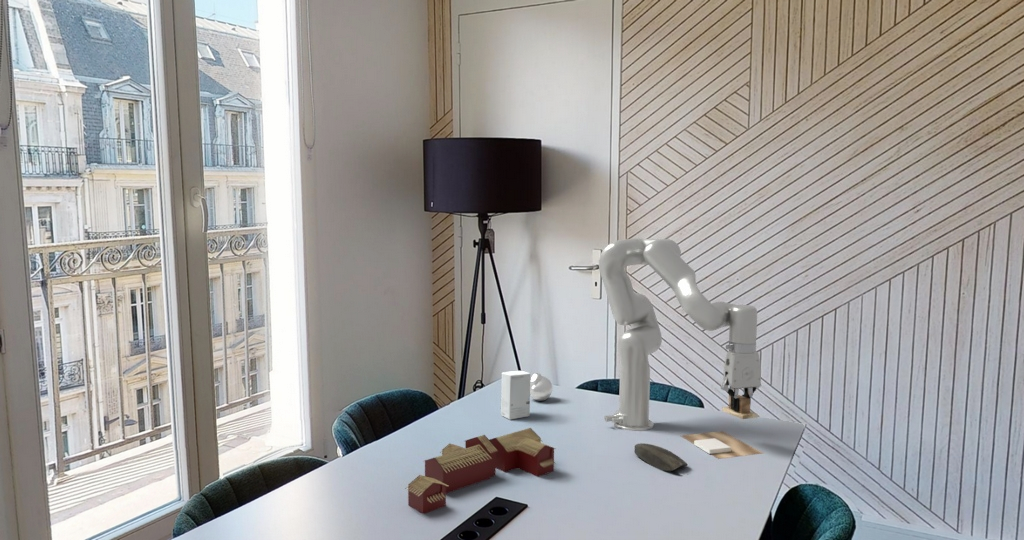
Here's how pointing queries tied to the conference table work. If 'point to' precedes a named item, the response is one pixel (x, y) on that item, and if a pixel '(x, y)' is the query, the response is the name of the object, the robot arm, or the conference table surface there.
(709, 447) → the tile
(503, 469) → the toy houses
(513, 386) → the skincare box
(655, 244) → the robot arm
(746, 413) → the wooden float
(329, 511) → the conference table surface
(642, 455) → the decorative stone
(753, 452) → the cork mat
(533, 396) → the ghost figurine
